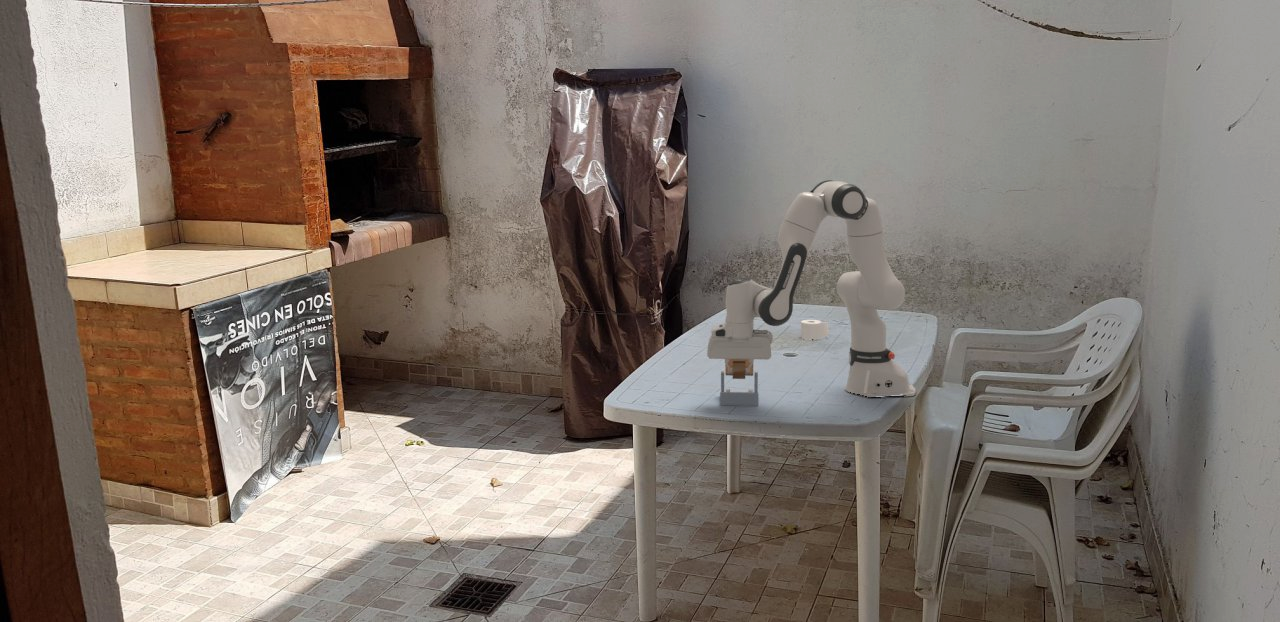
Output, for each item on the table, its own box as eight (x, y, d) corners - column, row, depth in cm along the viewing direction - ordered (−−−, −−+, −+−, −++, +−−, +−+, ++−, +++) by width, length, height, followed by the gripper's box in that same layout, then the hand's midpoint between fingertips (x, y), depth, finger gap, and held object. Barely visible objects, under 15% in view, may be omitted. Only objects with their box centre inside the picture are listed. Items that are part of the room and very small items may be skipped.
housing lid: (753, 375, 317) (753, 375, 317) (753, 340, 316) (753, 340, 317) (725, 375, 318) (725, 375, 318) (725, 340, 317) (725, 340, 318)
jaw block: (745, 378, 309) (745, 363, 308) (732, 378, 309) (732, 363, 308) (745, 375, 313) (745, 360, 312) (732, 375, 313) (732, 360, 312)
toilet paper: (829, 337, 402) (830, 320, 400) (813, 341, 394) (813, 324, 393) (813, 334, 408) (813, 317, 406) (796, 338, 400) (797, 321, 399)
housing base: (757, 396, 319) (757, 371, 318) (758, 405, 309) (758, 380, 307) (720, 395, 320) (720, 371, 319) (720, 405, 310) (720, 380, 308)
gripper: (772, 327, 310) (771, 370, 313) (707, 327, 312) (707, 369, 315) (773, 332, 304) (772, 375, 307) (707, 331, 306) (706, 374, 309)
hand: (738, 372), depth 311 cm, fingers closed on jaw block, 4 cm apart
